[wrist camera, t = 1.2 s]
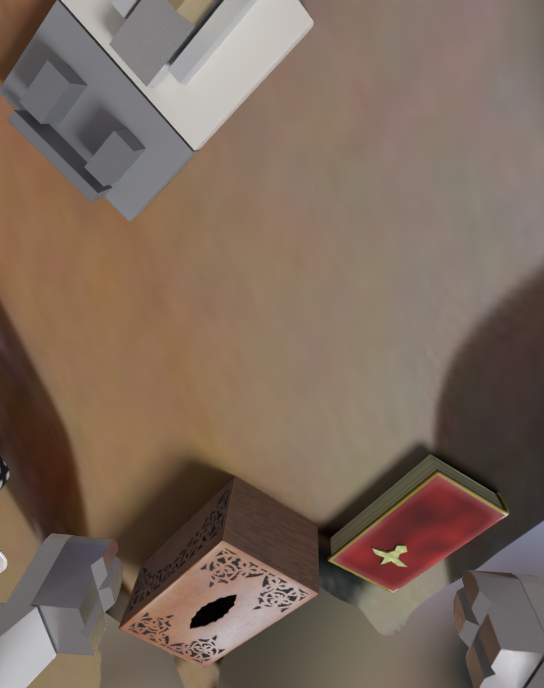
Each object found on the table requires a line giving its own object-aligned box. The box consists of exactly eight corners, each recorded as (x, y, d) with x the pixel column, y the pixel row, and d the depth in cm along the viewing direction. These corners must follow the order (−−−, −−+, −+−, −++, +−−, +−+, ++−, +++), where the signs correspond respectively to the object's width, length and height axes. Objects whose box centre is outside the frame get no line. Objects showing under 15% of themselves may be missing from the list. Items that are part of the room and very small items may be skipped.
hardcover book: (498, 490, 55) (512, 517, 52) (390, 568, 64) (395, 596, 61) (429, 448, 53) (438, 473, 49) (326, 535, 62) (327, 562, 58)
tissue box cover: (217, 599, 71) (204, 668, 63) (142, 562, 68) (118, 628, 59) (317, 524, 61) (319, 593, 52) (235, 474, 57) (222, 540, 48)
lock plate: (180, -163, 29) (158, -212, 24) (313, 26, 33) (314, 13, 29) (12, 92, 37) (-28, 89, 32) (136, 216, 41) (116, 229, 37)
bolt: (208, -73, 29) (182, -122, 23) (244, -23, 30) (228, -57, 24) (119, 47, 33) (76, 33, 27) (154, 88, 34) (121, 83, 28)
